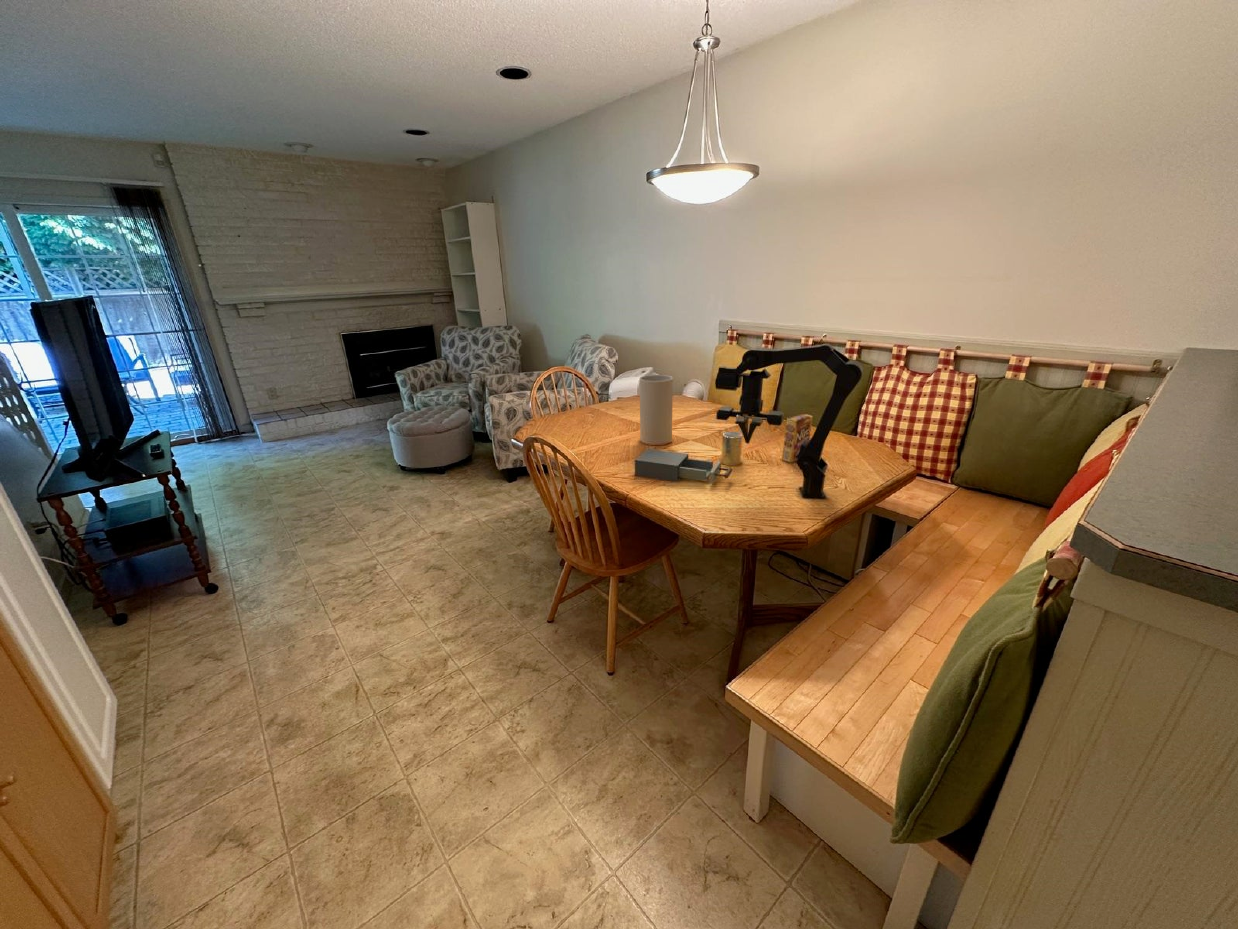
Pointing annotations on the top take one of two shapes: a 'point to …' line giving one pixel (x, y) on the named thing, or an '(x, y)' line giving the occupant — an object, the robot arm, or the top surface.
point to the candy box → (796, 435)
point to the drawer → (702, 470)
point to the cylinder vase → (656, 409)
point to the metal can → (731, 448)
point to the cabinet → (659, 464)
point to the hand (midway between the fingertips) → (747, 443)
